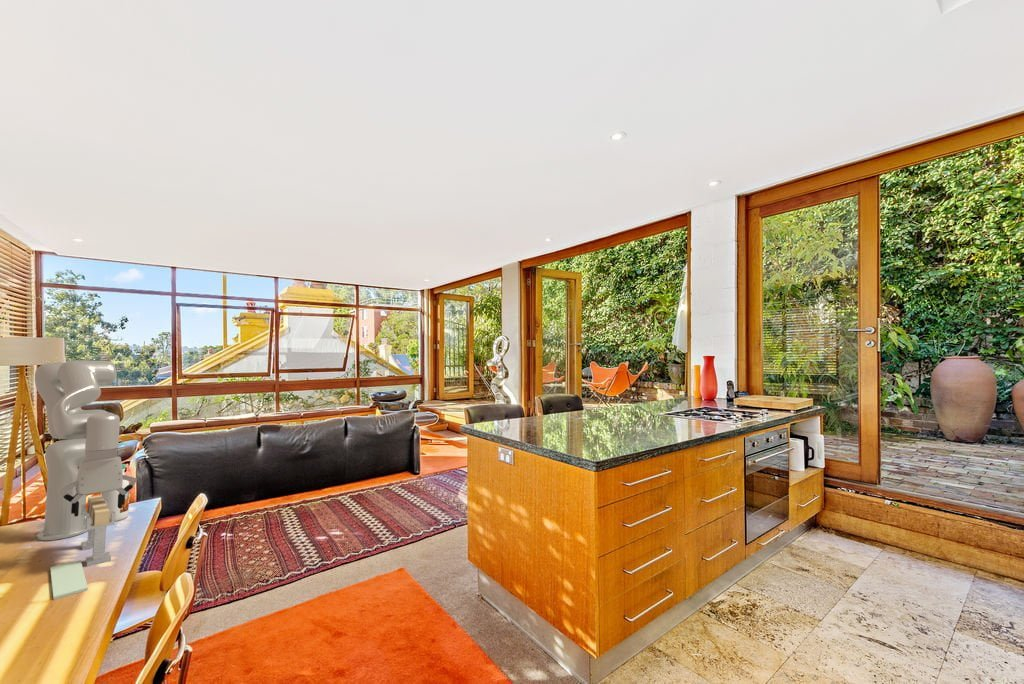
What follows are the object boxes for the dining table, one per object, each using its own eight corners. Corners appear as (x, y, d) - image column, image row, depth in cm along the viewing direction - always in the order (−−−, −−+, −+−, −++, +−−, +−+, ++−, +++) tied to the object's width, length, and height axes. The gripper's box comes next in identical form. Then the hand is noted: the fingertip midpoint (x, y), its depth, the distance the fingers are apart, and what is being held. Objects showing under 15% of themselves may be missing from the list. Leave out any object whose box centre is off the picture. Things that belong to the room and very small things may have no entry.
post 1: (78, 546, 135) (81, 503, 136) (104, 540, 140) (107, 499, 140) (80, 550, 132) (82, 507, 133) (106, 544, 136) (109, 502, 137)
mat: (50, 569, 120) (50, 567, 120) (80, 562, 124) (80, 560, 124) (53, 599, 105) (53, 596, 105) (87, 589, 109) (87, 587, 109)
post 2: (83, 561, 125) (86, 515, 125) (111, 554, 129) (113, 510, 130) (84, 566, 121) (87, 519, 122) (113, 559, 126) (115, 514, 127)
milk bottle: (110, 523, 154) (114, 467, 155) (93, 522, 156) (97, 466, 157) (133, 516, 162) (136, 463, 163) (117, 515, 163) (120, 462, 164)
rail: (87, 509, 137) (88, 497, 138) (100, 507, 140) (101, 495, 140) (94, 527, 123) (95, 512, 123) (108, 524, 125) (109, 510, 125)
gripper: (136, 449, 141) (133, 502, 140) (60, 457, 128) (56, 516, 127) (140, 452, 136) (137, 507, 135) (61, 461, 123) (57, 521, 122)
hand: (98, 511), depth 131 cm, fingers open, 9 cm apart
